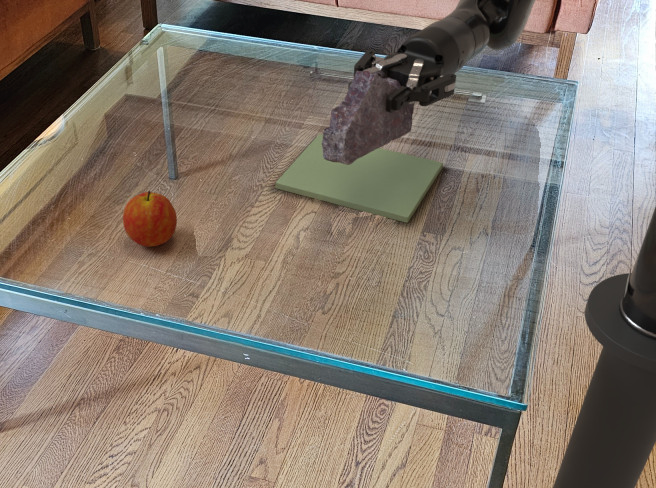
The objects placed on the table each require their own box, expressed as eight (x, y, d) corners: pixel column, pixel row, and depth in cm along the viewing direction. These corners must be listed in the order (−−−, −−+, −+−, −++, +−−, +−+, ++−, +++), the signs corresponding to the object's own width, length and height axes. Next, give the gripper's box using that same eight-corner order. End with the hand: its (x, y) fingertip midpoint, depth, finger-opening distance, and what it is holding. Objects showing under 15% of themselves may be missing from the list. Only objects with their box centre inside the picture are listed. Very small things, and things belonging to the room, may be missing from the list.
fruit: (115, 243, 111) (107, 192, 106) (152, 220, 115) (147, 170, 110) (151, 264, 108) (146, 212, 102) (189, 239, 112) (185, 188, 106)
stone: (392, 42, 109) (315, 77, 101) (430, 58, 106) (354, 96, 98) (380, 114, 116) (308, 153, 108) (417, 132, 113) (344, 173, 105)
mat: (442, 168, 125) (443, 162, 125) (407, 223, 114) (408, 217, 114) (319, 139, 132) (319, 133, 132) (275, 188, 121) (275, 182, 121)
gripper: (394, 14, 117) (324, 56, 107) (488, 39, 110) (422, 87, 100) (389, 65, 122) (322, 110, 112) (479, 92, 115) (416, 142, 105)
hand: (370, 99), depth 106 cm, fingers closed on stone, 5 cm apart
